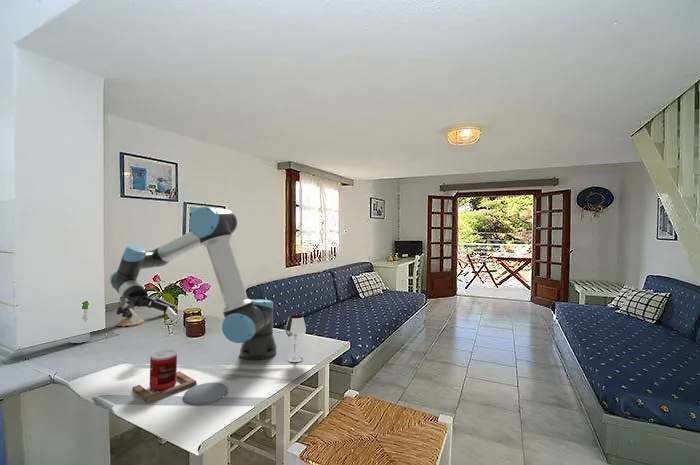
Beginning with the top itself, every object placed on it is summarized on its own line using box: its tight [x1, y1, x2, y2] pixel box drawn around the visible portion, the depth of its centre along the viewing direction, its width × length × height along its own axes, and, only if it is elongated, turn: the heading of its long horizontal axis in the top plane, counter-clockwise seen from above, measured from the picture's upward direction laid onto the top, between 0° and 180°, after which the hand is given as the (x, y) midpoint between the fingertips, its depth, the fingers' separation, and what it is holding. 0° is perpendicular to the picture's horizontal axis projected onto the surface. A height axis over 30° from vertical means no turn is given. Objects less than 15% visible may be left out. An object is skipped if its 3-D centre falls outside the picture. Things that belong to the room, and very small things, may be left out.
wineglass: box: [285, 314, 307, 360], centre depth 132 cm, size 8×8×18 cm
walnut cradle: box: [132, 371, 198, 404], centre depth 107 cm, size 12×15×1 cm
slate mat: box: [183, 382, 229, 406], centre depth 104 cm, size 13×13×1 cm
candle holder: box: [116, 303, 144, 328], centre depth 175 cm, size 12×12×20 cm
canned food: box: [149, 349, 178, 393], centre depth 108 cm, size 8×8×11 cm
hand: (156, 319), depth 116 cm, fingers open, 13 cm apart
